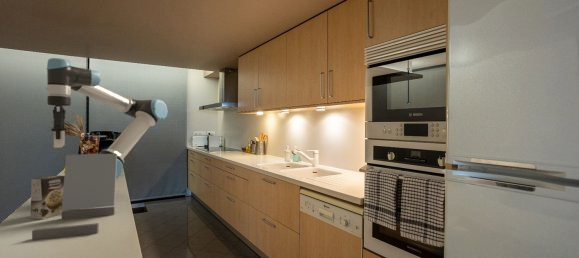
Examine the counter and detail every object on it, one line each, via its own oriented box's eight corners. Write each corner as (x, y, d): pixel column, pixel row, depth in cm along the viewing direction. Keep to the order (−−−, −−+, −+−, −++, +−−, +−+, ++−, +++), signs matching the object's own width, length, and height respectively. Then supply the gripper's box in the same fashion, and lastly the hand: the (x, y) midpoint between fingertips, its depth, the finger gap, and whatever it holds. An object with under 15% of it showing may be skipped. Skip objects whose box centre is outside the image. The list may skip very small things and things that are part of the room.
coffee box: (42, 219, 108) (43, 179, 108) (29, 218, 110) (30, 178, 110) (65, 212, 117) (66, 175, 117) (53, 211, 119) (53, 174, 119)
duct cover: (61, 209, 109) (63, 209, 110) (113, 205, 115) (114, 205, 117) (66, 154, 113) (67, 155, 114) (116, 153, 119) (117, 153, 120)
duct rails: (63, 218, 111) (63, 210, 111) (114, 213, 117) (114, 206, 117) (32, 239, 89) (32, 230, 89) (97, 233, 95) (97, 224, 95)
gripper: (50, 97, 123) (50, 145, 123) (43, 92, 103) (44, 148, 103) (71, 99, 127) (71, 144, 128) (69, 93, 108) (69, 147, 108)
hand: (59, 146), depth 115 cm, fingers open, 13 cm apart
